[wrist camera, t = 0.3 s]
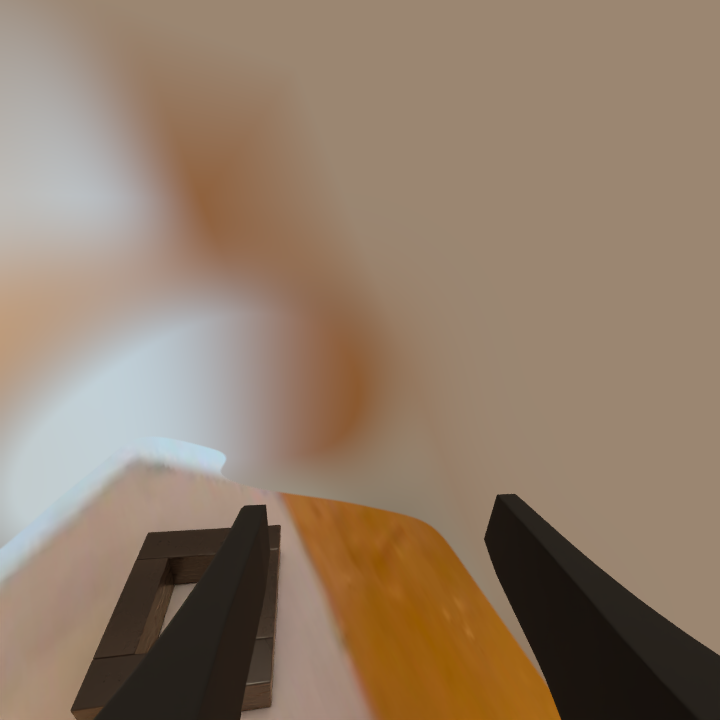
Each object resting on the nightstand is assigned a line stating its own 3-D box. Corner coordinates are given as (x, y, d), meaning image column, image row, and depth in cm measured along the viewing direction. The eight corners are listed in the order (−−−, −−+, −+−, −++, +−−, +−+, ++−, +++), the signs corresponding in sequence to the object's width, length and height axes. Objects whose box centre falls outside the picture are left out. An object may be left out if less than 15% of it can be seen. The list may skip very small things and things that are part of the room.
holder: (271, 707, 21) (271, 682, 19) (86, 736, 19) (69, 711, 17) (280, 550, 30) (280, 524, 28) (155, 559, 28) (147, 532, 26)
